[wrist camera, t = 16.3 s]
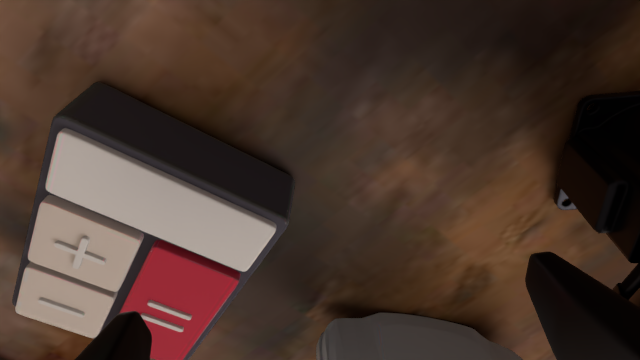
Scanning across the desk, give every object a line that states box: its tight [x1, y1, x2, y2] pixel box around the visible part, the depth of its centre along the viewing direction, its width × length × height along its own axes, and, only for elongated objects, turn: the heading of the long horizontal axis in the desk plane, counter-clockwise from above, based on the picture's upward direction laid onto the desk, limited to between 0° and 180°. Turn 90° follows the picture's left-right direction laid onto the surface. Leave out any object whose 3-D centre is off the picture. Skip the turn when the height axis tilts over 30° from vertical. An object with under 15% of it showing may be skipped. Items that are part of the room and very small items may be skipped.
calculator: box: [12, 82, 295, 360], centre depth 23 cm, size 11×4×15 cm
